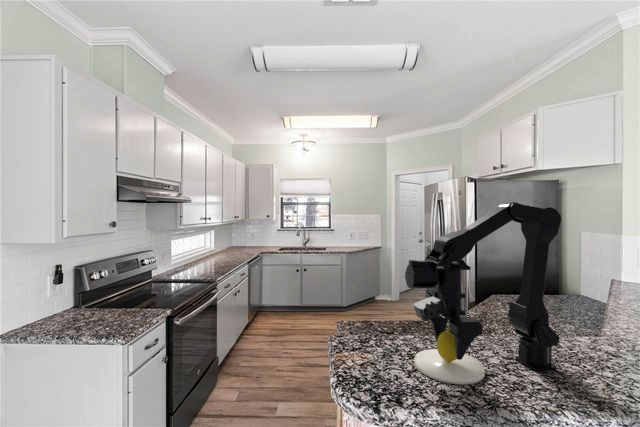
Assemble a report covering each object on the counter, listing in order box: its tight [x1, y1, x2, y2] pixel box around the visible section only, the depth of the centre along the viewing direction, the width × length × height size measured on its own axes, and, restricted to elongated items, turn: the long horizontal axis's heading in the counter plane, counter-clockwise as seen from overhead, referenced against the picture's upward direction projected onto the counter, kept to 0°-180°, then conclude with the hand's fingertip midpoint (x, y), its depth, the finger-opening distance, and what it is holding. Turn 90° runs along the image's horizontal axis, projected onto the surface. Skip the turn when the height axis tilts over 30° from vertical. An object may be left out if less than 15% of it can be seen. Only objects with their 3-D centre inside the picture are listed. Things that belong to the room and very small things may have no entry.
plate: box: [414, 348, 486, 385], centre depth 80 cm, size 16×16×1 cm
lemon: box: [436, 329, 457, 363], centre depth 80 cm, size 6×6×8 cm
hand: (448, 351), depth 80 cm, fingers open, 9 cm apart
